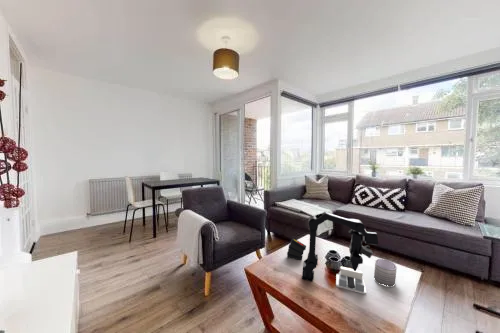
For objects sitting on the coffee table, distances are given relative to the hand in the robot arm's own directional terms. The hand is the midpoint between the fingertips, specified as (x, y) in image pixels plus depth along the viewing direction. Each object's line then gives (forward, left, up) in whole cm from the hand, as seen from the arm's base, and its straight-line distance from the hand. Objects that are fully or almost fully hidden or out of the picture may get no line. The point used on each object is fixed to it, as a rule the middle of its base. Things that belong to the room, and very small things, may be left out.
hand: (354, 266), depth 121 cm
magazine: (-37, +17, -13) cm, 43 cm away
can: (+19, +15, -13) cm, 27 cm away
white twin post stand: (-1, +2, -13) cm, 13 cm away
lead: (-1, +4, -11) cm, 12 cm away
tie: (-1, +2, -8) cm, 8 cm away
